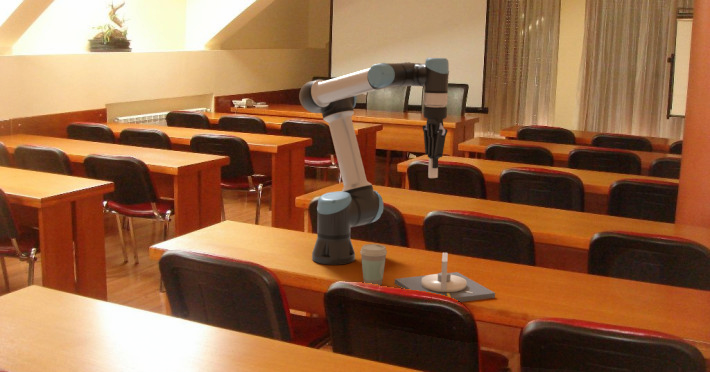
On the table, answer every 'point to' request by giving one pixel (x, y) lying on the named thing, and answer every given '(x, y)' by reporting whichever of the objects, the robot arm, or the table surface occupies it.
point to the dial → (443, 280)
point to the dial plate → (468, 294)
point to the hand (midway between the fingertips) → (432, 177)
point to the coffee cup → (373, 263)
